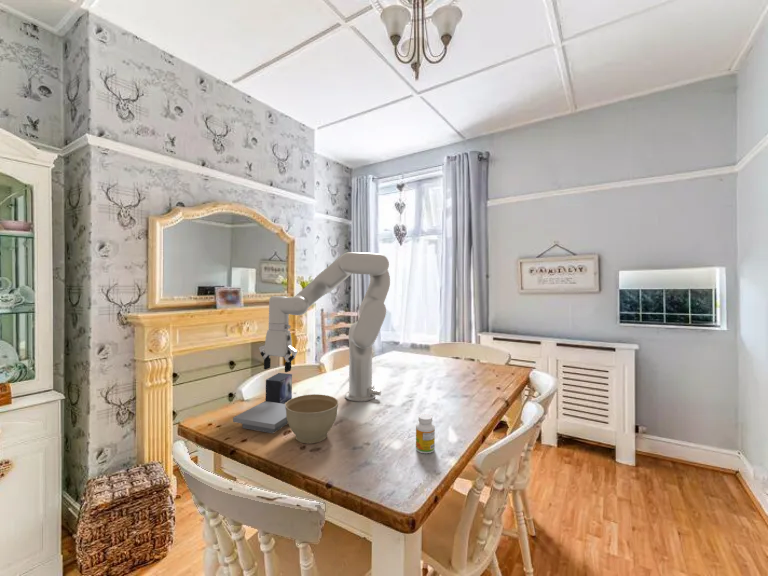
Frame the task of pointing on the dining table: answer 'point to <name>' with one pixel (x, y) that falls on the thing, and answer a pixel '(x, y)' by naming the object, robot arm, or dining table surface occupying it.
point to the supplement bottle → (425, 434)
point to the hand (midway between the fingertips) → (277, 370)
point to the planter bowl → (311, 416)
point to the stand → (264, 417)
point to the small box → (279, 388)
